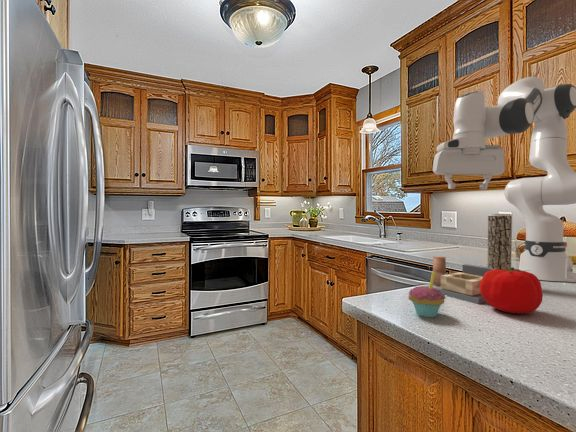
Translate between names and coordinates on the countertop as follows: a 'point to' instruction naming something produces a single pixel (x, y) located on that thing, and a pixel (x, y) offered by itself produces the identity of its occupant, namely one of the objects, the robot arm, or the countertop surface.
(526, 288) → the tomato
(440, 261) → the dowel
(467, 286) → the square wooden frame
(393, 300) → the countertop surface
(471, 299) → the slate track
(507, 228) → the wooden log
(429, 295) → the cupcake
